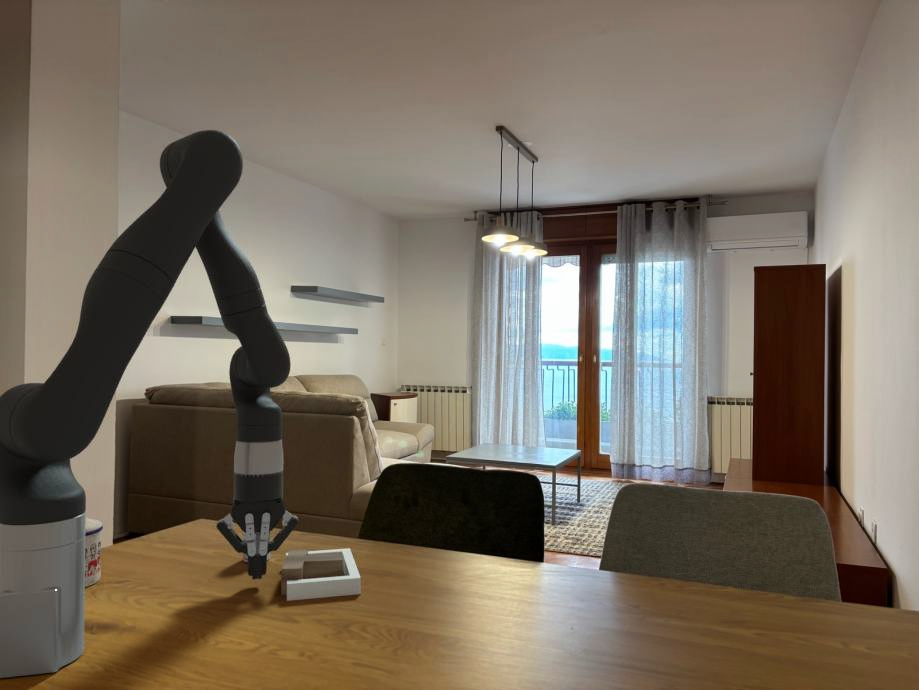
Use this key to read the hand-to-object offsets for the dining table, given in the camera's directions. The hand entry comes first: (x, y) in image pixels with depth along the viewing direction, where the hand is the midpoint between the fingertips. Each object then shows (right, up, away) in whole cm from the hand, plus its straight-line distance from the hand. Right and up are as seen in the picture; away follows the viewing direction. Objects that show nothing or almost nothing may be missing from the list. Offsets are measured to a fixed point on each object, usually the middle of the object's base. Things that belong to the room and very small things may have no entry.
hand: (257, 577), depth 106 cm
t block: (+9, -1, +2) cm, 9 cm away
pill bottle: (-4, -2, +14) cm, 14 cm away
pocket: (+9, -1, +3) cm, 10 cm away
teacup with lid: (-30, -2, +2) cm, 30 cm away
